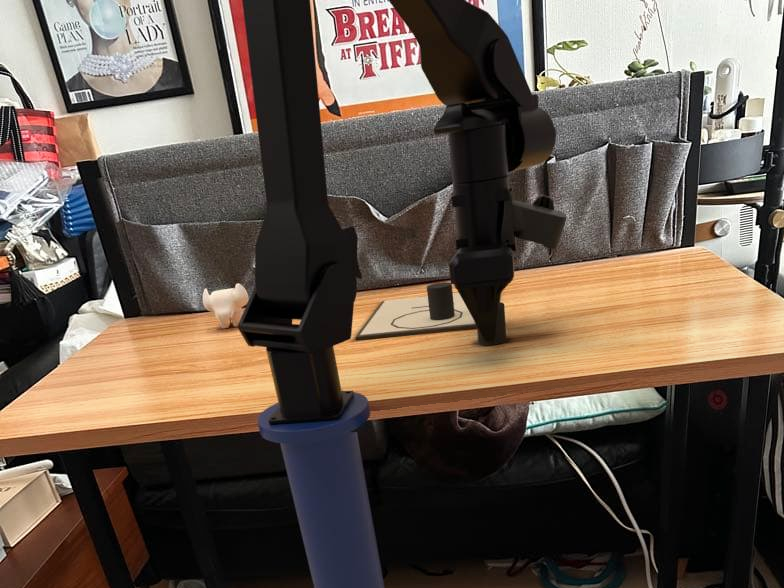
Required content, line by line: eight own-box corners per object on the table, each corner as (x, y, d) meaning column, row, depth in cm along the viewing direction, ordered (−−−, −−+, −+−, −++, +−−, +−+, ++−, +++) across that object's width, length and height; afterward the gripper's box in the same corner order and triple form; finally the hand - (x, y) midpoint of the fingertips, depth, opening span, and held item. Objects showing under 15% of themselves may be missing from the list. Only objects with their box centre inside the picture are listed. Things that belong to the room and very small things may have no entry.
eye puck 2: (506, 343, 80) (503, 307, 78) (477, 346, 81) (474, 310, 79) (506, 336, 83) (504, 300, 81) (479, 338, 84) (476, 303, 82)
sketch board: (490, 327, 88) (490, 322, 87) (355, 340, 91) (354, 335, 91) (496, 291, 105) (496, 287, 104) (382, 303, 108) (382, 299, 108)
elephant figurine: (205, 336, 105) (193, 294, 102) (215, 323, 112) (204, 283, 109) (250, 329, 105) (240, 286, 102) (257, 316, 112) (248, 277, 109)
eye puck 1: (453, 318, 92) (450, 286, 90) (428, 321, 92) (425, 289, 90) (455, 312, 94) (452, 281, 92) (431, 315, 95) (428, 283, 93)
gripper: (564, 176, 64) (568, 348, 72) (557, 162, 80) (561, 305, 88) (441, 192, 67) (457, 358, 74) (458, 176, 82) (470, 314, 90)
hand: (491, 331), depth 82 cm, fingers open, 7 cm apart
